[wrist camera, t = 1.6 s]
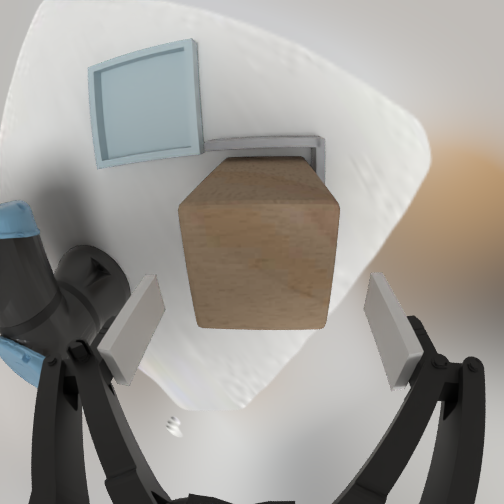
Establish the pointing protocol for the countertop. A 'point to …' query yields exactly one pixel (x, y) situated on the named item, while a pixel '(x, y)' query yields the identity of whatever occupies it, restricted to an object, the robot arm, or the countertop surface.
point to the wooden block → (260, 245)
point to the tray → (146, 105)
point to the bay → (277, 141)
